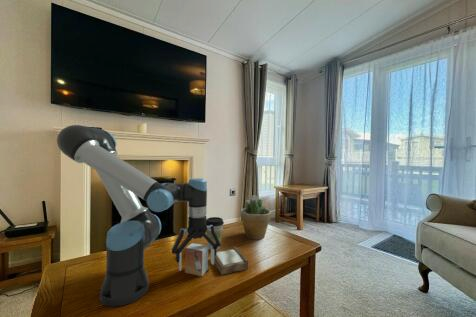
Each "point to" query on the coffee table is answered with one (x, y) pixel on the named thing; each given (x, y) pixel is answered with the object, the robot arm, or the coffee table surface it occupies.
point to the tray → (230, 261)
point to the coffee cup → (215, 229)
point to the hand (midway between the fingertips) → (196, 266)
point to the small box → (196, 259)
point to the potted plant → (255, 218)
